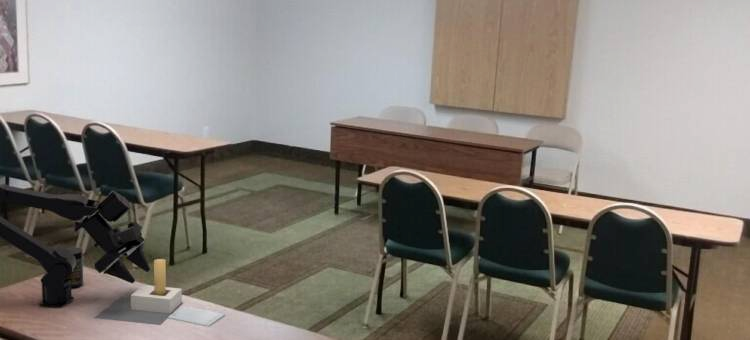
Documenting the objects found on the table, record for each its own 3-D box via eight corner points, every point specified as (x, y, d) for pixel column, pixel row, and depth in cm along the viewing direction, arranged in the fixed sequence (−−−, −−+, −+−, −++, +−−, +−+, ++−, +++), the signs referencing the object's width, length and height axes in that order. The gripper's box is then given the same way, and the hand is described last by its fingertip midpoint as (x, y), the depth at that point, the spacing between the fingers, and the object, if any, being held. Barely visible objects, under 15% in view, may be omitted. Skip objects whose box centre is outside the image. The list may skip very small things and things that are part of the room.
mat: (94, 319, 191) (94, 317, 191) (121, 297, 206) (121, 296, 206) (160, 326, 189) (160, 324, 189) (183, 304, 204) (183, 302, 204)
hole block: (130, 309, 197) (130, 295, 196) (143, 298, 205) (143, 284, 204) (170, 313, 196) (170, 299, 195) (181, 302, 204) (181, 288, 203)
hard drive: (167, 316, 193) (209, 324, 189) (185, 305, 200) (225, 313, 197) (167, 322, 193) (209, 330, 189) (185, 311, 201) (225, 319, 197)
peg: (152, 307, 199) (152, 261, 196) (157, 303, 202) (156, 258, 199) (163, 308, 199) (162, 262, 196) (167, 304, 202) (167, 259, 199)
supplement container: (88, 284, 214) (87, 250, 212) (68, 291, 209) (67, 256, 207) (74, 279, 218) (73, 245, 216) (53, 285, 212) (52, 251, 210)
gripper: (105, 224, 187) (146, 269, 188) (138, 206, 206) (175, 248, 206) (76, 250, 190) (117, 295, 191) (111, 230, 208) (148, 272, 209)
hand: (141, 276), depth 199 cm, fingers open, 9 cm apart
